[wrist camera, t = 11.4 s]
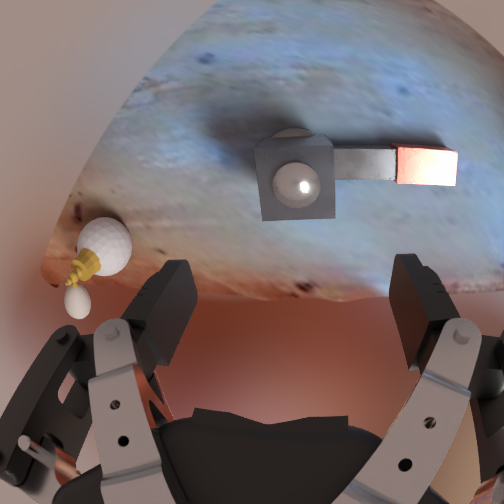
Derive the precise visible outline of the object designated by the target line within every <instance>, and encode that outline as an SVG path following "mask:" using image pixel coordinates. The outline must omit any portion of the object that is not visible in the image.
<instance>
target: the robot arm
mask: <svg viewBox="0 0 504 504" xmlns="http://www.w3.org/2000/svg"><path fill="white" fill-rule="evenodd" d="M389 301H390V305H391V308H392V311H393V315H394V318H395V321H396V324H397V328H398V331H399V335H400V338H401V342H402V346H403V350H404V353H405V357H406V361H407V365H408V369H409V371H410V370H417V369H419V370H420V374H421V376H420V378H419V379H418V381H417V383H416V385H415V387H414V389H413V390H412V392H411V394H410V396H409V398H408V399H407V401H406V403H405V405H404V406H403V408H402V409H401V411H400V413H399V414H398V416H397V418H396V419H395V421H394V422H393V424H392V425H391V427H390V428H389V430H388V431H387V433H386V434H385V435H384V437H383V438H382V439H381V438H380V437H378V436H376V435H375V434H373V433H371V432H369V431H367V430H364V429H361V428H358V427H355V426H349V425H348V416H335V417H334V416H333V417H307V418H302V419H298V420H293V421H287V422H282V423H276V424H263V423H260V422H256V421H253V420H250V419H247V418H244V417H241V416H238V415H235V414H232V413H229V412H221V411H213V410H206V409H199V408H195V409H194V412H193V415H192V417H188V418H182V419H178V420H175V419H174V417H173V416H172V414H171V412H170V410H169V407H168V404H167V402H166V399H165V396H164V394H163V391H162V388H161V385H160V382H159V379H158V377H157V374H156V372H155V368H156V365H163V366H169V364H170V361H171V359H172V357H173V355H174V353H175V350H176V348H177V346H178V344H179V342H180V339H181V337H182V335H183V333H184V330H185V328H186V326H187V324H188V322H189V320H190V318H191V315H192V313H193V311H194V309H195V307H196V304H197V289H196V286H195V283H194V279H193V276H192V272H191V269H190V265H189V263H188V261H187V260H168V261H167V262H166V263H165V264H164V266H163V267H162V268H161V270H160V271H159V272H157V273H155V274H154V275H153V276H151V277H150V278H149V279H148V280H147V281H146V282H145V284H144V285H143V286H142V289H140V291H139V292H138V293H137V296H135V298H134V299H133V300H132V302H131V303H130V305H129V306H128V308H127V309H126V310H125V312H124V313H123V315H122V316H121V318H120V319H119V318H118V319H111V320H109V321H106V322H104V323H103V324H102V325H100V326H99V327H98V328H97V330H96V331H95V333H94V334H89V335H80V333H79V332H78V330H77V329H76V327H75V326H73V325H66V326H63V327H61V328H59V329H58V330H56V331H55V332H54V333H53V334H52V336H51V337H50V338H49V340H48V341H47V343H46V344H45V346H44V347H43V348H42V350H41V352H40V353H39V354H38V356H37V357H36V359H35V360H34V362H33V363H32V365H31V367H30V368H29V370H28V371H27V373H26V374H25V376H24V378H23V379H22V381H21V383H20V384H19V386H18V388H17V389H16V391H15V393H14V394H13V396H12V398H11V400H10V401H9V403H8V405H7V407H6V409H5V411H4V413H3V415H2V416H1V418H0V479H2V480H4V481H5V482H7V483H8V484H9V485H11V486H12V487H14V488H16V489H18V490H20V491H22V492H24V493H25V494H27V495H28V496H29V497H31V498H32V499H33V500H35V501H36V502H37V503H39V504H449V503H448V502H447V501H446V500H445V499H444V498H443V497H442V496H441V495H439V494H438V493H437V492H436V491H435V490H434V489H433V488H432V487H431V486H430V483H431V481H432V479H433V478H434V476H435V474H436V473H437V471H438V469H439V467H440V465H441V463H442V462H443V460H444V458H445V456H446V454H447V452H448V450H449V448H450V446H451V444H452V442H453V439H454V437H455V435H456V433H457V430H458V428H459V426H460V423H461V421H462V418H463V416H464V413H465V411H466V408H467V405H468V403H469V401H470V406H471V411H472V416H473V421H474V426H475V432H476V439H477V446H478V453H479V463H480V475H481V476H480V477H481V485H480V486H479V487H478V489H477V491H476V492H475V494H474V497H473V499H472V500H471V502H470V504H504V330H503V332H502V334H501V336H500V337H493V336H485V335H481V332H480V330H479V329H478V327H477V326H476V325H475V324H474V323H472V322H471V321H469V320H467V319H464V318H461V317H460V316H459V313H458V311H457V309H456V308H455V306H454V304H453V302H452V300H451V298H450V296H449V294H448V293H447V292H446V289H445V287H444V285H442V282H441V280H440V278H439V277H438V275H437V274H436V273H435V272H434V271H433V270H432V269H430V268H429V267H428V266H422V264H421V262H420V260H419V259H418V257H417V255H416V254H397V255H396V256H395V259H394V265H393V271H392V277H391V282H390V288H389ZM68 372H69V373H70V374H71V375H72V377H73V378H74V379H75V382H74V384H73V386H72V387H71V389H70V392H69V393H68V395H67V397H66V399H65V401H64V403H63V404H62V403H61V402H60V401H59V399H58V390H59V387H60V386H61V384H62V382H63V380H64V379H65V377H66V375H67V373H68ZM92 422H93V427H94V433H95V439H96V444H97V449H98V453H99V458H100V463H101V464H99V465H97V466H96V467H94V468H92V469H90V470H88V471H87V472H85V473H83V474H81V473H80V471H79V470H77V469H76V460H77V458H78V456H79V453H80V451H81V448H82V445H83V443H84V441H85V438H86V436H87V434H88V431H89V429H90V427H91V424H92Z"/></svg>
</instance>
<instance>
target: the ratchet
mask: <svg viewBox="0 0 504 504" xmlns="http://www.w3.org/2000/svg"><path fill="white" fill-rule="evenodd" d="M313 135H316V134H314V133H313V132H311V131H309V130H306V129H302V128H286V129H283V130H280V131H278V132H276V133H275V134H273V135H272V136H271V137H270V138H278V137H292V136H313ZM333 149H334V171H335V180H353V179H388V180H394V181H395V182H396V183H400V184H433V185H453V186H455V177H456V166H457V152H456V151H454V150H452V149H449V148H447V147H439V146H428V145H416V144H399V143H390V146H377V145H333Z"/></svg>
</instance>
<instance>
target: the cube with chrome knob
mask: <svg viewBox="0 0 504 504" xmlns="http://www.w3.org/2000/svg"><path fill="white" fill-rule="evenodd" d="M254 157H255V165H256V173H257V181H258V189H259V197H260V205H261V213H262V221H277V220H302V219H331V218H335V171H334V149H333V144H332V143H331V142H330V140H329V139H328V138H327V137H326V136H325V135H313V136H292V137H278V138H265V139H263V140H262V141H261V142H260V143H259V144H258V145H257V146H256V147H255V149H254Z"/></svg>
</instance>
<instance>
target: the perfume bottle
mask: <svg viewBox="0 0 504 504" xmlns="http://www.w3.org/2000/svg"><path fill="white" fill-rule="evenodd" d="M77 251H78V256H77V257H76V258H75V259H74V260H73V261H72V262H71V268H72V272H70V273H69V278H68V279H67V282H66V286H68V285H69V286H68V288H67V290H66V293H65V307H66V310H67V312H68V313H69V315H71V316H72V317H73V318H76V319H82V318H85V316H87V315H88V313H89V312H90V308H91V301H90V297H89V295H88V292H87V291H86V289H85V288H84V287H83V286H82V285H81V284H79V283H77V281H78V279H80V280H83V281H86V280H88V279H89V278H90V277H91V276H92V275H93V274H96V275H99V276H110V275H113V274H116V273H117V272H119V271H120V270H121V269H123V268H124V266H125V265H126V264H127V262H128V260H129V258H130V256H131V251H132V242H131V237H130V235H129V232H128V230H127V229H126V228H125V227H124V226H123V224H122V223H120V222H119V221H117V220H115V219H112V218H109V217H101V218H97V219H95V220H92V221H91V222H89V223H88V224H87V225H86V226H85V227H84V228H83V230H82V231H81V232H80V235H79V238H78V243H77Z"/></svg>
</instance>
